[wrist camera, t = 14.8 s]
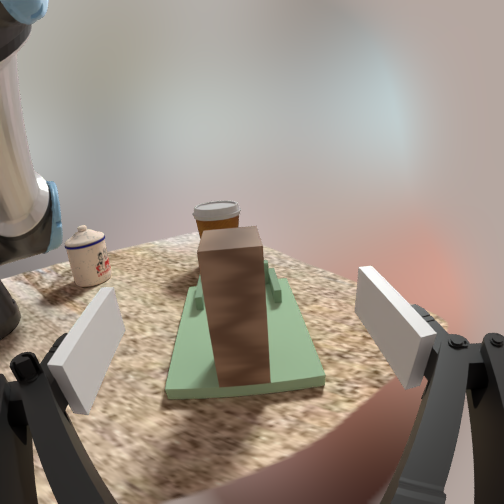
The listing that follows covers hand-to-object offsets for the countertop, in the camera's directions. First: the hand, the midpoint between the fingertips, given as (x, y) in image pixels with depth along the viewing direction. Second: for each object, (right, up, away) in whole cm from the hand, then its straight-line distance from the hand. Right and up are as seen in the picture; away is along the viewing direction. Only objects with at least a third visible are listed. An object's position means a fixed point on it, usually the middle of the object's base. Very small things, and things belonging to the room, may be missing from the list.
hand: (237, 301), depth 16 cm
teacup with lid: (-33, -3, +46) cm, 56 cm away
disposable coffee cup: (-5, 0, +49) cm, 49 cm away
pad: (-1, -8, +24) cm, 25 cm away
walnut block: (0, -9, +15) cm, 18 cm away
